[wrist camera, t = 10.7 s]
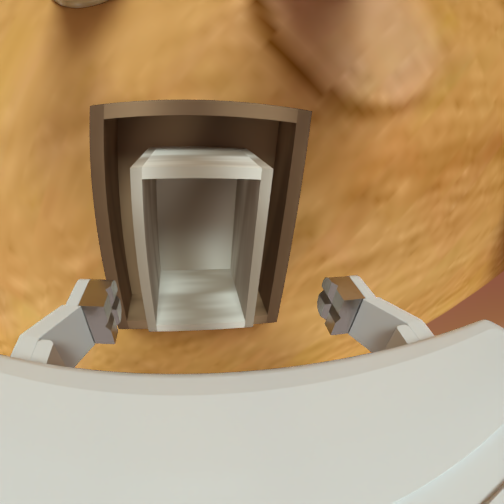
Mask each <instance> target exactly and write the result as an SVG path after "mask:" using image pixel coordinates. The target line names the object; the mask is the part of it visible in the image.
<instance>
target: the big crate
mask: <svg viewBox="0 0 504 504" xmlns="http://www.w3.org/2000/svg"><path fill="white" fill-rule="evenodd" d="M311 115H312V111H308V110H302V109H296V108H289V107H282V106H274V105H266V104H256V103H246V102H233V101H216V100H149V101H132V102H120V103H110V104H101V105H93V106H90V162H91V178H92V190H93V200H94V209H95V218H96V225H97V232H98V238H99V245H100V250H101V256H102V261H103V266H104V271H105V276H106V280H115V282H116V284H117V288H118V291H117V294H116V295H117V296H118V297H119V298H120V302H121V309H122V312H121V321H120V323H119V324H118V328H119V329H148V325H147V320H146V315H145V309H144V303H143V298H142V291H141V285H140V278H139V271H138V264H137V256H136V247H135V238H134V227H133V215H132V201H131V181H130V168H131V166H132V165H133V164H134V163H135V162H136V161H137V160H138V159H139V158H140V157H141V156H142V154H143V153H144V152H145V151H146V150H147V149H148V148H149V147H232V148H247V149H248V150H249V151H251V152H252V153H253V154H255V155H256V156H257V157H258V158H260V159H261V160H262V161H264V162H265V163H266V164H268V165H269V166H270V167H271V168H273V177H272V185H271V193H270V201H269V209H268V217H267V225H266V233H265V240H264V248H263V256H262V263H261V271H260V279H259V286H258V293H257V301H256V308H255V316H254V323H253V324H261V323H272V322H277V318H278V313H279V308H280V303H281V298H282V293H283V288H284V282H285V277H286V272H287V267H288V261H289V256H290V250H291V245H292V239H293V233H294V228H295V222H296V216H297V210H298V204H299V198H300V191H301V185H302V179H303V172H304V165H305V159H306V152H307V145H308V137H309V130H310V123H311Z"/></svg>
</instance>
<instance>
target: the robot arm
mask: <svg viewBox="0 0 504 504" xmlns="http://www.w3.org/2000/svg"><path fill="white" fill-rule="evenodd" d="M322 288H323V291H322V292H321V293H320V294H319V297H318V301H317V308H318V311H319V314H320V316H321V317H322V318H324V319H326V322H325V325H326V327H327V329H328V331H329V333H330V335H336V334H345V333H349V335H350V336H352V337H353V338H354V339H356V340H357V341H358V342H359V343H361V344H362V345H363V346H364V347H366V348H367V349H368V350H370V351H371V352H372V353H368V354H363V355H359V356H354V357H349V358H344V359H338V360H332V361H326V362H320V363H314V364H307V365H300V366H292V367H284V368H275V369H265V370H255V371H242V372H227V373H205V374H148V373H126V372H111V371H99V370H89V369H80V368H74V367H75V366H76V365H77V364H78V362H79V361H80V360H81V359H82V358H83V357H84V356H85V355H86V354H87V352H88V351H89V350H90V349H91V348H92V347H93V346H94V345H95V343H101V344H115V342H116V338H117V334H118V329H117V325H118V324H119V323H120V321H121V312H122V309H121V302H120V298H119V297H118V296H117V295H116V294H117V291H118V288H117V284H116V282H115V280H97V279H79V280H78V281H77V283H76V285H75V287H74V289H73V290H72V292H71V295H70V297H69V299H68V301H67V303H66V305H62V306H60V307H59V308H57V309H56V310H54V311H53V312H51V313H50V314H49V315H47V316H46V317H44V318H43V319H42V320H40V321H39V322H37V323H36V324H35V325H33V326H32V327H30V328H29V329H28V330H26V331H25V332H24V333H22V334H21V335H20V337H19V339H18V341H17V343H16V345H15V347H14V349H13V352H12V354H11V356H6V355H2V354H0V504H504V328H502V327H500V326H499V325H497V324H495V323H493V322H491V321H489V320H480V321H477V322H475V323H472V324H470V325H467V326H464V327H461V328H458V329H455V330H452V331H449V332H446V333H443V334H440V335H437V336H434V335H433V333H432V332H431V331H430V330H429V328H428V327H427V326H426V324H425V323H424V322H423V321H422V320H421V319H419V318H417V317H415V316H413V315H412V314H410V313H408V312H406V311H404V310H402V309H400V308H398V307H397V306H395V305H393V304H391V303H389V302H387V301H385V300H383V299H381V298H379V297H377V298H376V297H375V295H374V294H373V293H372V292H371V290H370V289H369V288H368V287H367V285H366V284H365V283H364V282H363V280H362V279H361V278H360V277H359V276H357V275H353V276H345V277H327V278H325V279H324V280H323V283H322Z"/></svg>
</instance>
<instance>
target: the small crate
mask: <svg viewBox="0 0 504 504" xmlns="http://www.w3.org/2000/svg"><path fill="white" fill-rule="evenodd" d="M272 177H273V168H271V167H270V166H269V165H268V164H266V163H265V162H264V161H262V160H261V159H260V158H258V157H257V156H256V155H255V154H253V153H252V152H251V151H249V150H248V149H247V148H232V147H149V148H148V149H147V150H146V151H145V152H144V153H143V154H142V156H141V157H140V158H139V159H138V160H137V161H136V162H135V163H134V164H133V165H132V166H131V168H130V181H131V201H132V215H133V227H134V238H135V247H136V256H137V264H138V271H139V278H140V285H141V291H142V298H143V303H144V309H145V315H146V320H147V325H148V330H149V332H151V331H191V330H213V329H229V328H243V327H253V323H254V316H255V308H256V301H257V293H258V286H259V279H260V271H261V263H262V256H263V248H264V240H265V233H266V225H267V217H268V209H269V201H270V193H271V185H272Z"/></svg>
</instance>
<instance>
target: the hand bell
mask: <svg viewBox="0 0 504 504" xmlns="http://www.w3.org/2000/svg"><path fill="white" fill-rule="evenodd" d="M54 1H55V2H57V3H58V4H60V5H62V6H65V7H70V8H83V7H89V6H93V5H97V4H100V3H103V2H106V1H108V0H54Z"/></svg>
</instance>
